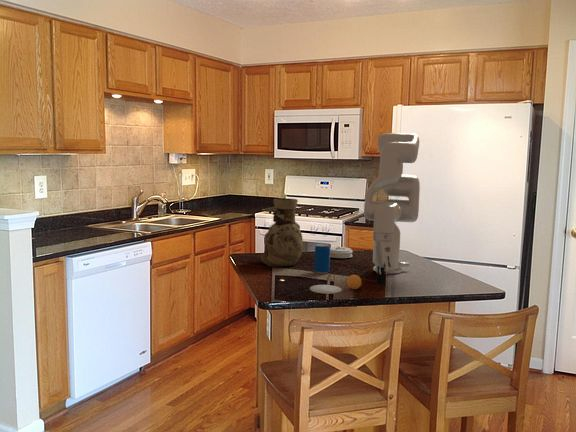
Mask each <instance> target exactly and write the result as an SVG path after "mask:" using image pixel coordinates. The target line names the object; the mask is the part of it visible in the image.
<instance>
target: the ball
mask: <svg viewBox="0 0 576 432" xmlns="http://www.w3.org/2000/svg"><path fill="white" fill-rule="evenodd" d="M346 284H347V286H348V288H350V289H351V290H358V289H359V288H361V286H362V278H361V277H360V276H359V275H356V274H352V275H349V276H348V278H347V280H346Z"/></svg>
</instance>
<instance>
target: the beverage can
mask: <svg viewBox="0 0 576 432" xmlns="http://www.w3.org/2000/svg"><path fill="white" fill-rule="evenodd" d="M330 263H331V257H330V244H326V243H317V244H316V246H315V247H314V268H313V269H314V272H315V273H316V274H320V275H326V274H327V275H328V273H329V272H330V268H331V266H330Z"/></svg>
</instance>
